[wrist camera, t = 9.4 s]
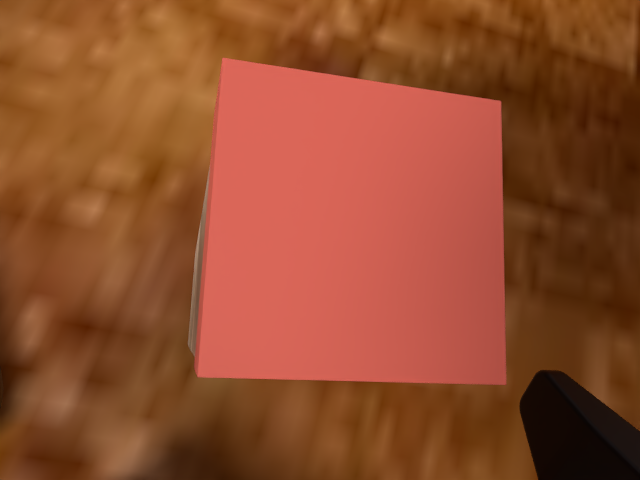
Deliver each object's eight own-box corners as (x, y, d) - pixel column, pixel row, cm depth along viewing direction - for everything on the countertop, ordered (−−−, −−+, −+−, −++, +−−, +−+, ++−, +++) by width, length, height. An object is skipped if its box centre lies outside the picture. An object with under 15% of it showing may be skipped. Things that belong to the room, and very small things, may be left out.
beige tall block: (282, 350, 19) (505, 384, 6) (186, 347, 19) (197, 377, 5) (287, 257, 20) (501, 101, 7) (193, 250, 19) (222, 57, 6)
